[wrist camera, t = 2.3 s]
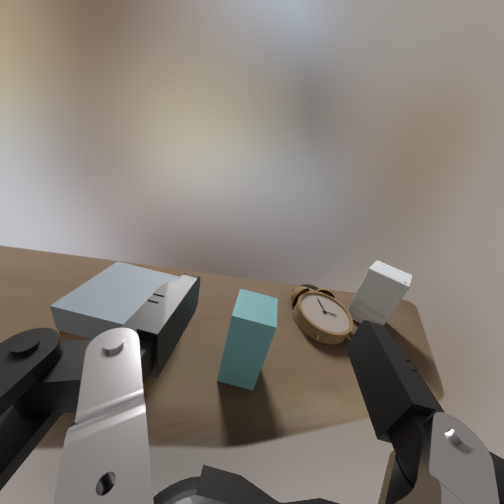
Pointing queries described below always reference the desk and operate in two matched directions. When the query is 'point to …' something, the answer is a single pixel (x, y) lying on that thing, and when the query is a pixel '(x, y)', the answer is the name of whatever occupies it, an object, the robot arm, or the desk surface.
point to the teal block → (248, 339)
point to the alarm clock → (321, 315)
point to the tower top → (107, 299)
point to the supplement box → (379, 293)
